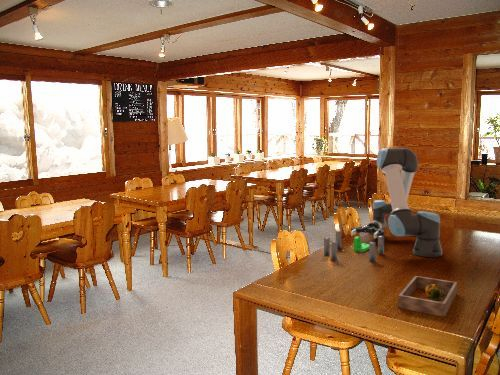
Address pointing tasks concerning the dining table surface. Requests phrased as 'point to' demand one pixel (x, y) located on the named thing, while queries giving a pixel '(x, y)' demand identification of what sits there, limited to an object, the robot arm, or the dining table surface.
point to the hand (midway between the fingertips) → (362, 234)
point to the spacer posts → (337, 244)
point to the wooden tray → (424, 304)
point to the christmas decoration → (435, 292)
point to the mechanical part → (360, 245)
